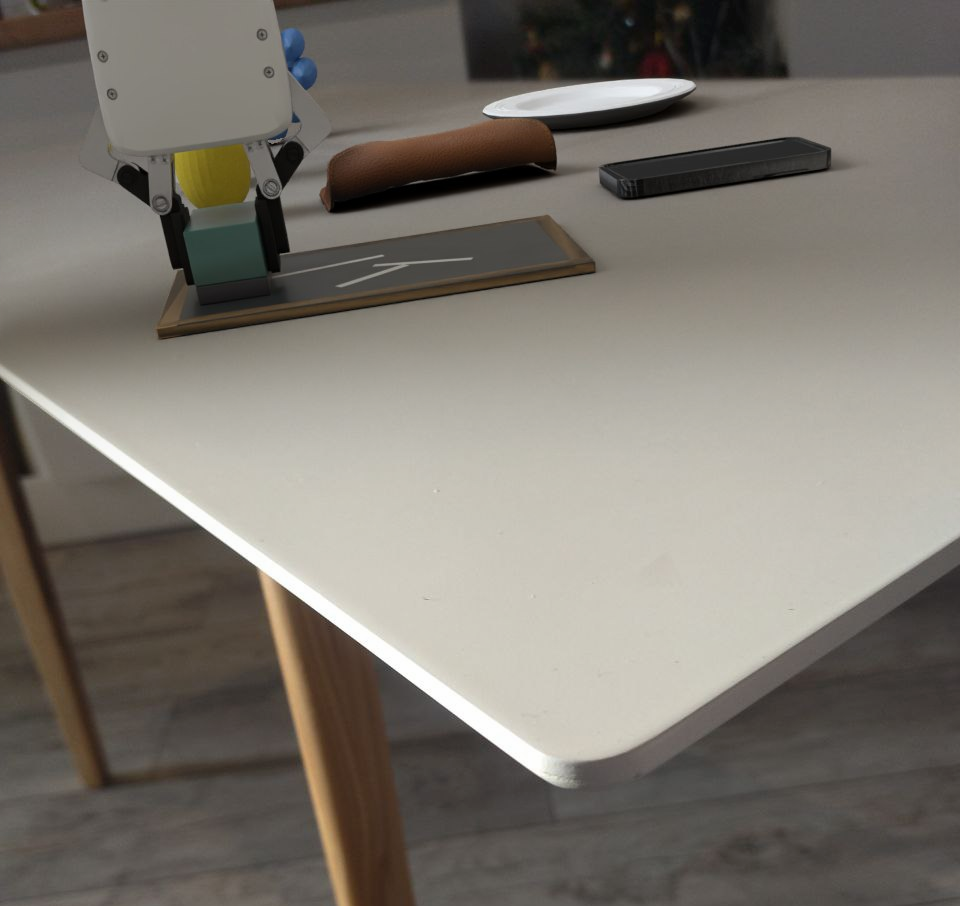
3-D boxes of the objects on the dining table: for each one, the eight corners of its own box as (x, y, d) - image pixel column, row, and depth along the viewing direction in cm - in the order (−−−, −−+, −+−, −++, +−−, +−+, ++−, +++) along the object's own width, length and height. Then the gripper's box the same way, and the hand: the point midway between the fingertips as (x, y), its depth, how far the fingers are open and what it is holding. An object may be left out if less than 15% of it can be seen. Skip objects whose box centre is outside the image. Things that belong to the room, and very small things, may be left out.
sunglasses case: (525, 154, 101) (531, 81, 95) (553, 210, 97) (561, 138, 92) (312, 191, 97) (305, 118, 92) (333, 251, 94) (327, 179, 88)
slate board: (158, 339, 65) (155, 328, 65) (179, 279, 78) (177, 270, 77) (596, 272, 67) (595, 260, 67) (549, 224, 79) (548, 214, 79)
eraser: (270, 294, 69) (256, 221, 67) (199, 305, 68) (182, 232, 66) (272, 267, 75) (259, 199, 73) (207, 277, 74) (192, 209, 72)
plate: (440, 136, 120) (438, 115, 119) (569, 99, 133) (568, 80, 132) (613, 136, 107) (612, 113, 106) (738, 95, 120) (737, 74, 119)
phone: (595, 165, 89) (795, 134, 89) (596, 181, 89) (795, 151, 90) (620, 182, 82) (837, 149, 83) (621, 199, 82) (836, 166, 83)
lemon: (262, 221, 92) (239, 107, 88) (188, 234, 91) (162, 118, 87) (258, 209, 96) (236, 100, 92) (188, 221, 96) (162, 111, 92)
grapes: (329, 131, 133) (308, 9, 128) (328, 139, 128) (306, 11, 122) (223, 146, 133) (198, 24, 127) (217, 155, 127) (190, 27, 121)
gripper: (319, -108, 66) (373, 240, 75) (6, -67, 65) (99, 280, 74) (322, -115, 59) (381, 267, 68) (-26, -70, 58) (81, 311, 67)
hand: (234, 270), depth 71 cm, fingers closed on eraser, 4 cm apart
